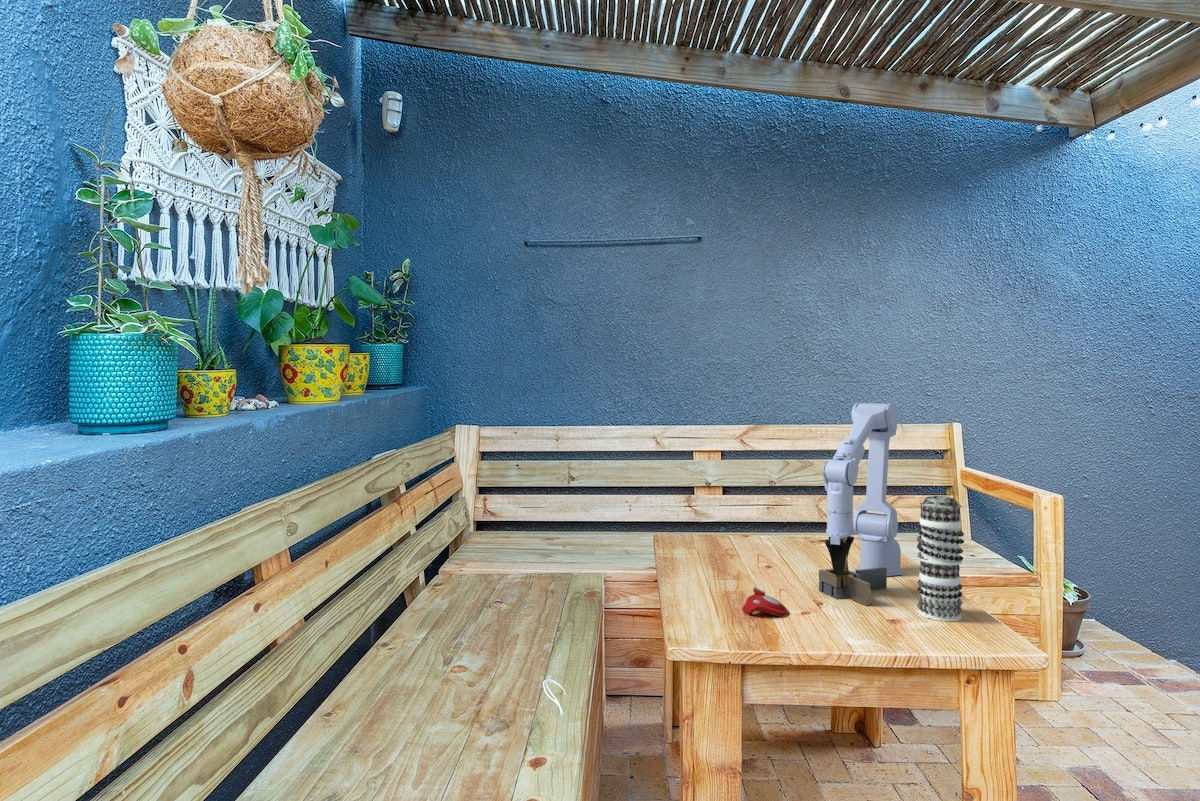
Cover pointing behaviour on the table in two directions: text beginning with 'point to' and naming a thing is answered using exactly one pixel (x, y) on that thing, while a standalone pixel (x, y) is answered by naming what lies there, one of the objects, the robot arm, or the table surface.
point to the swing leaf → (848, 584)
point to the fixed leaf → (872, 576)
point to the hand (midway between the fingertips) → (839, 569)
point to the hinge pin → (846, 569)
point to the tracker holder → (763, 604)
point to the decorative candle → (939, 559)
